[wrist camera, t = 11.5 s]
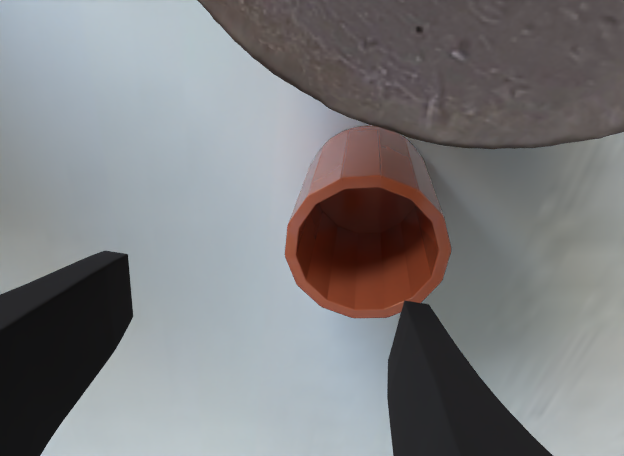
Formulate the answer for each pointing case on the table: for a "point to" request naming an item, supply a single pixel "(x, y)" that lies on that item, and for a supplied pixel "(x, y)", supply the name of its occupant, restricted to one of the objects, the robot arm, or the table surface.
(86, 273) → the robot arm
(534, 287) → the table surface
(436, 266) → the terracotta pipe segment
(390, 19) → the pillar candle
